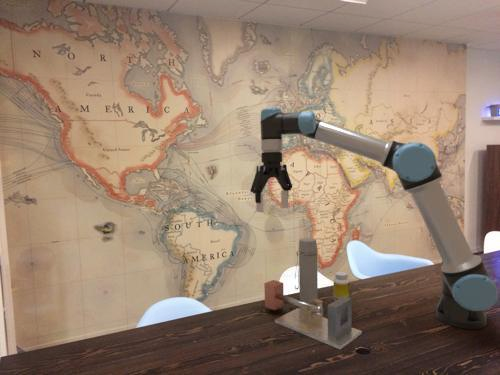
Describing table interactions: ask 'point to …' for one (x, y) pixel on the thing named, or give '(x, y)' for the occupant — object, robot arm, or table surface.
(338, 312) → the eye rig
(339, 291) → the pill bottle
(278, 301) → the mallet
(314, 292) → the water bottle
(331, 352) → the table surface
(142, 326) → the table surface
